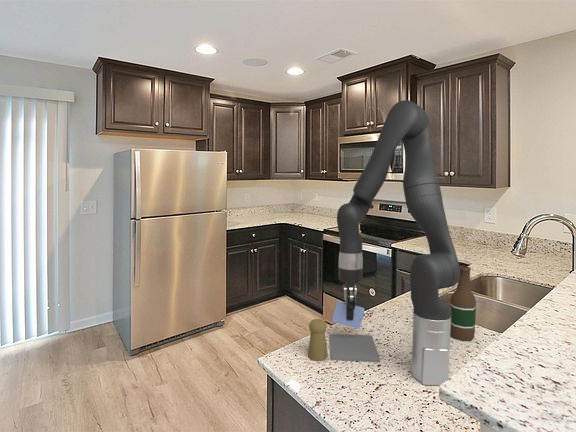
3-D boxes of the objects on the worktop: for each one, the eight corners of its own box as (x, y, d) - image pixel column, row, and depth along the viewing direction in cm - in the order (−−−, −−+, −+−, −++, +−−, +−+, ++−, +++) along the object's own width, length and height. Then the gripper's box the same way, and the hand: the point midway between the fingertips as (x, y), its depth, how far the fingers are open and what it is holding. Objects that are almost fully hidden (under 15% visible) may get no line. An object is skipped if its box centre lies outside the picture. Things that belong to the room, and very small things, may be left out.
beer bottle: (463, 343, 110) (466, 270, 107) (443, 333, 117) (446, 265, 114) (480, 339, 113) (483, 267, 110) (459, 329, 120) (462, 262, 117)
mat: (380, 362, 99) (380, 360, 99) (331, 359, 100) (331, 358, 100) (371, 337, 115) (371, 335, 115) (329, 335, 116) (329, 333, 116)
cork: (331, 355, 103) (332, 320, 102) (319, 363, 98) (319, 326, 97) (316, 349, 107) (316, 315, 106) (303, 356, 102) (303, 321, 101)
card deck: (359, 329, 109) (364, 310, 108) (331, 321, 110) (336, 302, 109) (358, 326, 111) (363, 307, 110) (331, 319, 112) (336, 300, 111)
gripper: (365, 271, 101) (363, 328, 103) (360, 260, 114) (359, 310, 116) (339, 271, 102) (338, 326, 104) (337, 260, 115) (337, 309, 117)
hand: (349, 318), depth 110 cm, fingers closed on card deck, 1 cm apart
